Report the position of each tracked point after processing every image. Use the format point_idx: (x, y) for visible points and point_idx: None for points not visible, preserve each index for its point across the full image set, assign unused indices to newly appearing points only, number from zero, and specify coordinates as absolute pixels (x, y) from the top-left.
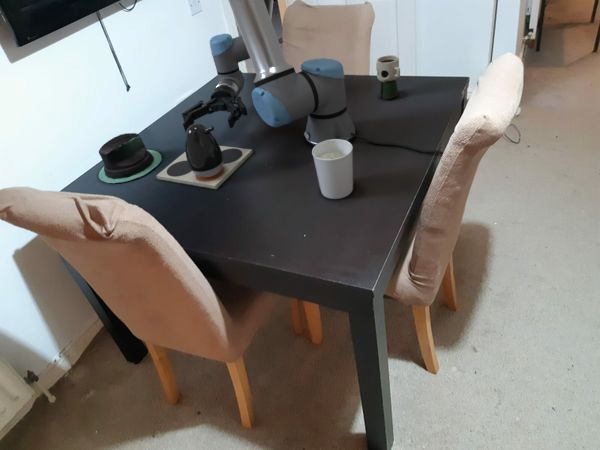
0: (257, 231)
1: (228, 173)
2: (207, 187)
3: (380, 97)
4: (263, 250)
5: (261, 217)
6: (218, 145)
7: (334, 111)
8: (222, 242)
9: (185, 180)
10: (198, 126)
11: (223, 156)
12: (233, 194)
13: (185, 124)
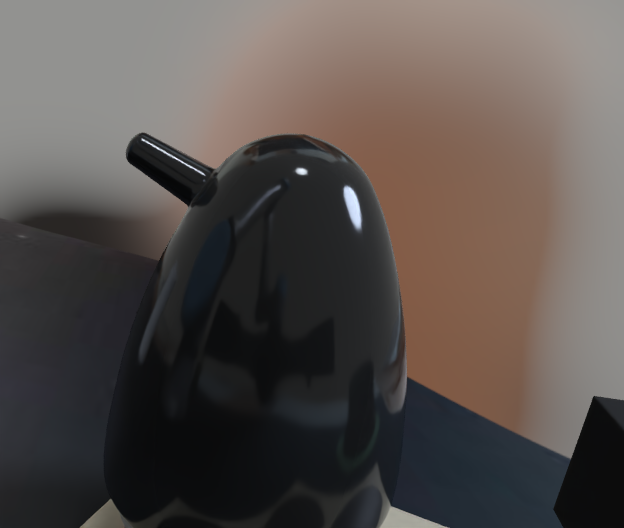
0: (37, 275)
1: (94, 515)
2: None
3: None
4: (40, 245)
5: (3, 300)
6: (125, 348)
7: None
8: (149, 276)
9: (399, 511)
10: (261, 138)
11: (104, 453)
12: (89, 401)
13: (592, 409)
